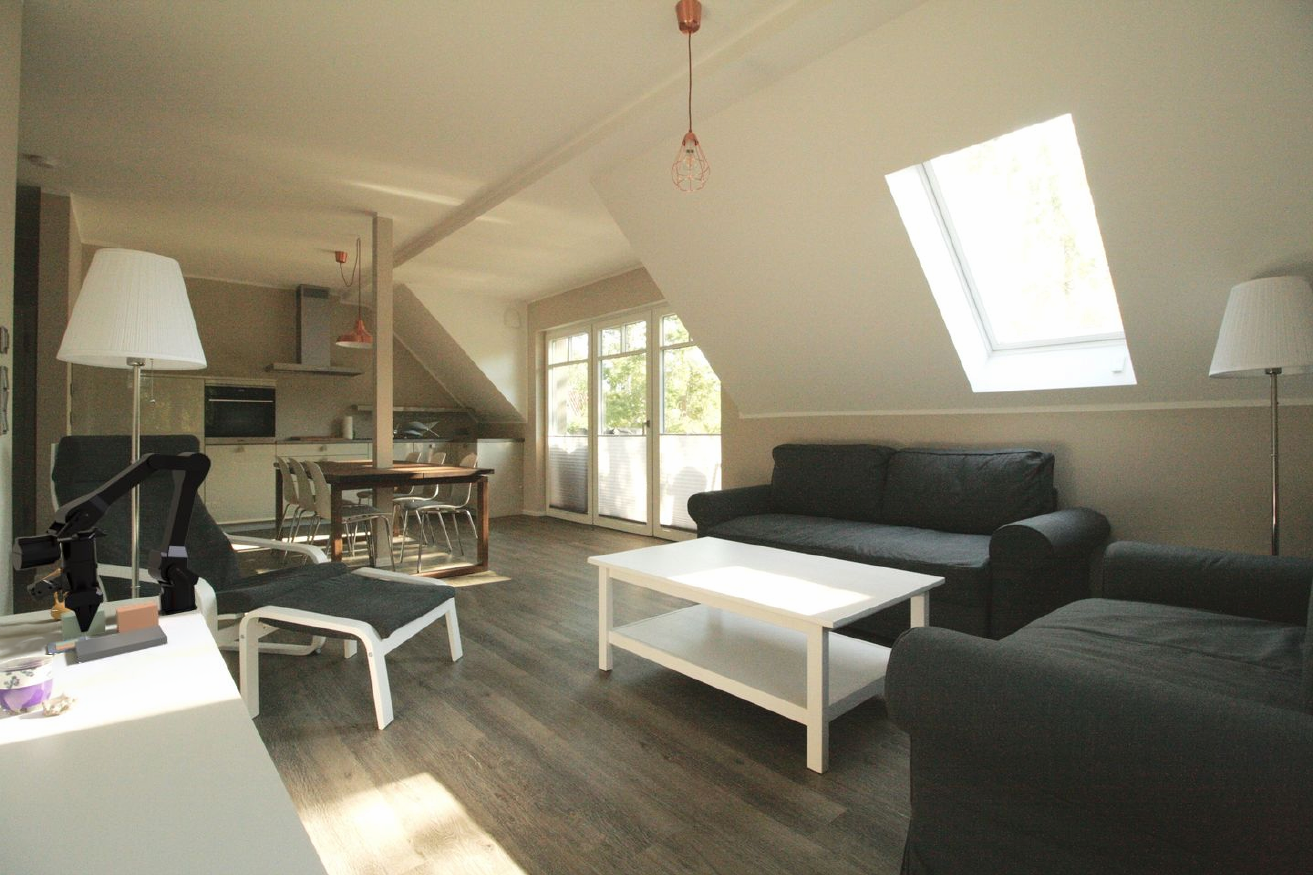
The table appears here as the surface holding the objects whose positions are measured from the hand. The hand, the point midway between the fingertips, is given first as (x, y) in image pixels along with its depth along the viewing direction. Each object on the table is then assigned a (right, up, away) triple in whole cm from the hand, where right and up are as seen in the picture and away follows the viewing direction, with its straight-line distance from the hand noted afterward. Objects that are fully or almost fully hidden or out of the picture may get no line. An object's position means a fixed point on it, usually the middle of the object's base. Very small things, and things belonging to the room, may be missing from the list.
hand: (83, 628), depth 142 cm
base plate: (+16, -1, -8) cm, 18 cm away
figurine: (-16, -1, +11) cm, 19 cm away
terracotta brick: (+9, -1, +4) cm, 10 cm away
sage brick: (0, -1, 0) cm, 1 cm away
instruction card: (+4, -1, -8) cm, 9 cm away
